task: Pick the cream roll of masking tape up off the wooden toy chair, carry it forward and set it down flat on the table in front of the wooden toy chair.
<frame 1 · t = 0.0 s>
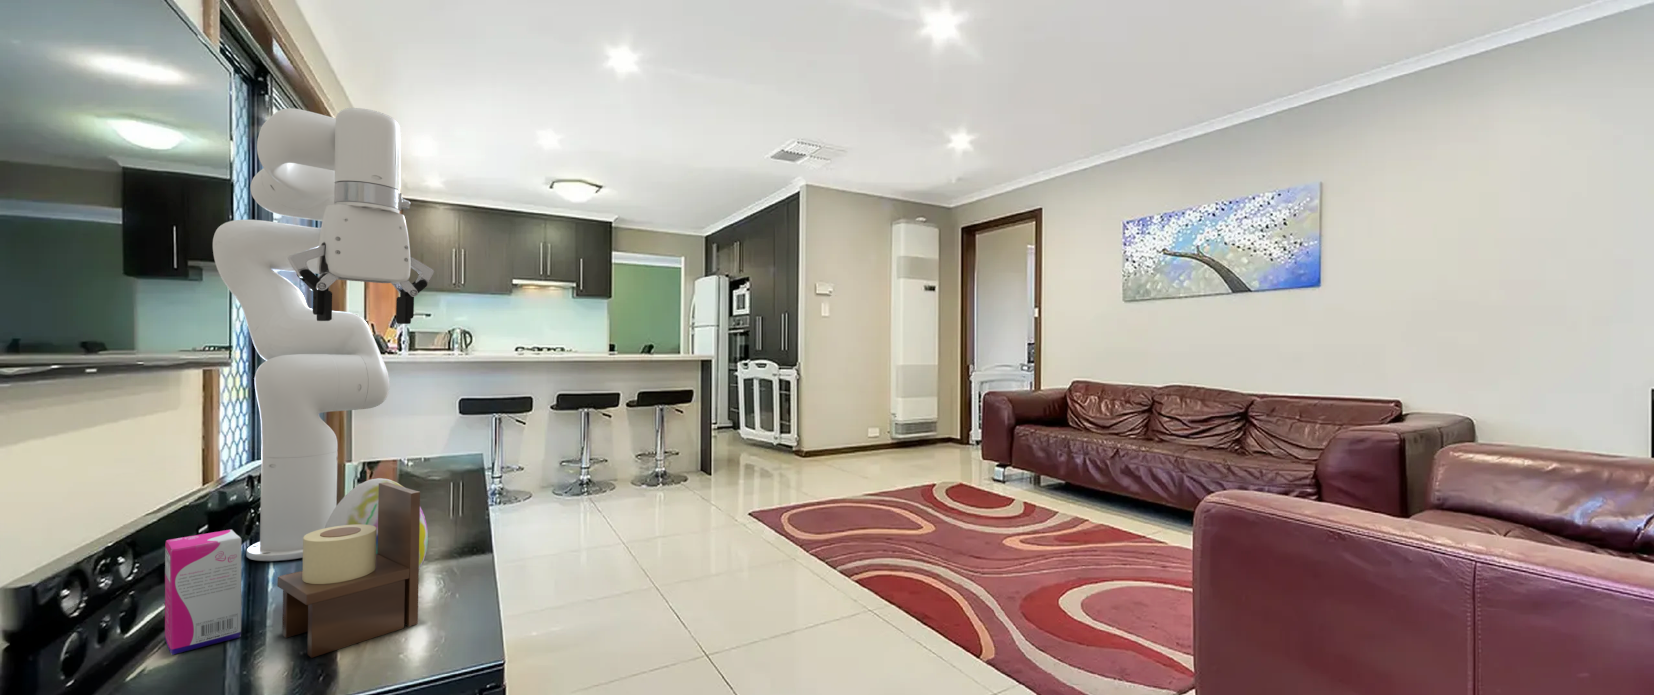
hand: (365, 322, 90), 37 cm above the tv stand, tool pointing down, fingers open, 9 cm apart
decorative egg: (375, 588, 88), on the tv stand
wooden toy chair: (344, 631, 75), on the tv stand
supplement box: (202, 640, 72), on the tv stand
tape roll: (340, 573, 74), point 7 cm above the tv stand, touching wooden toy chair
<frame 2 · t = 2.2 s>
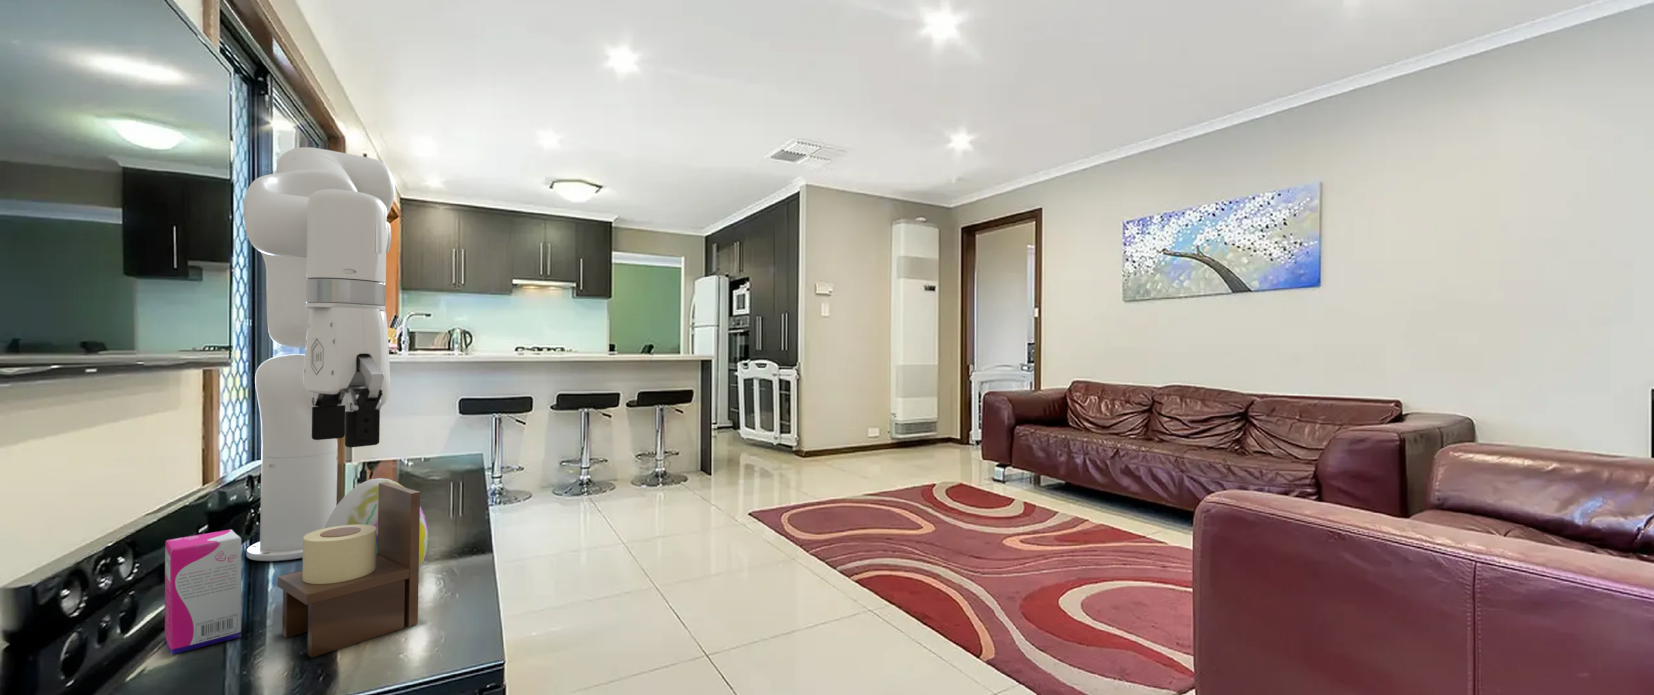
hand: (344, 442, 75), 22 cm above the tv stand, tool pointing down, fingers open, 9 cm apart
nothing on the tv stand moved.
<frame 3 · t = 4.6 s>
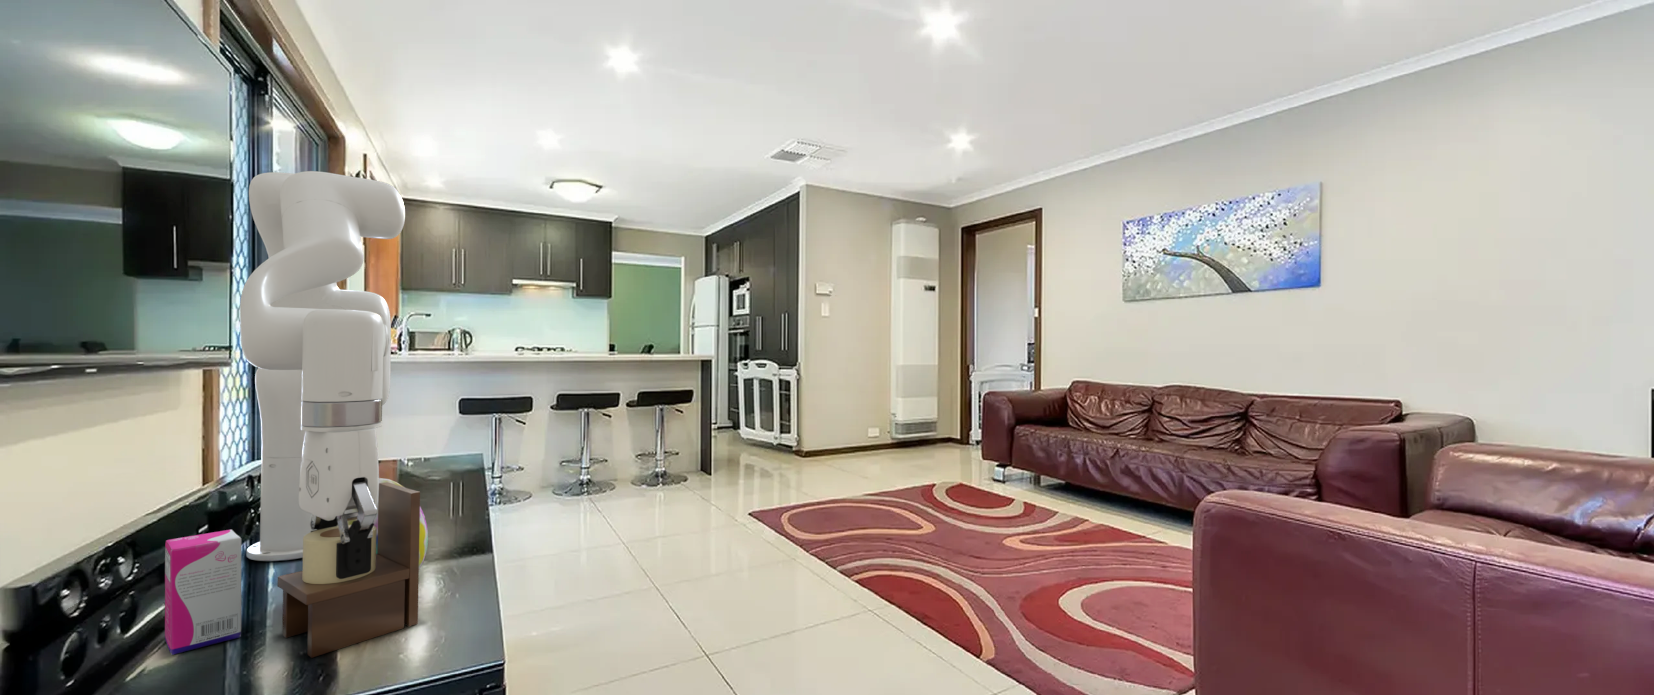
hand: (340, 567, 74), 8 cm above the tv stand, tool pointing down, fingers closed on tape roll, 6 cm apart
tape roll: (340, 573, 74), point 7 cm above the tv stand, touching gripper, wooden toy chair
everything else where it was.
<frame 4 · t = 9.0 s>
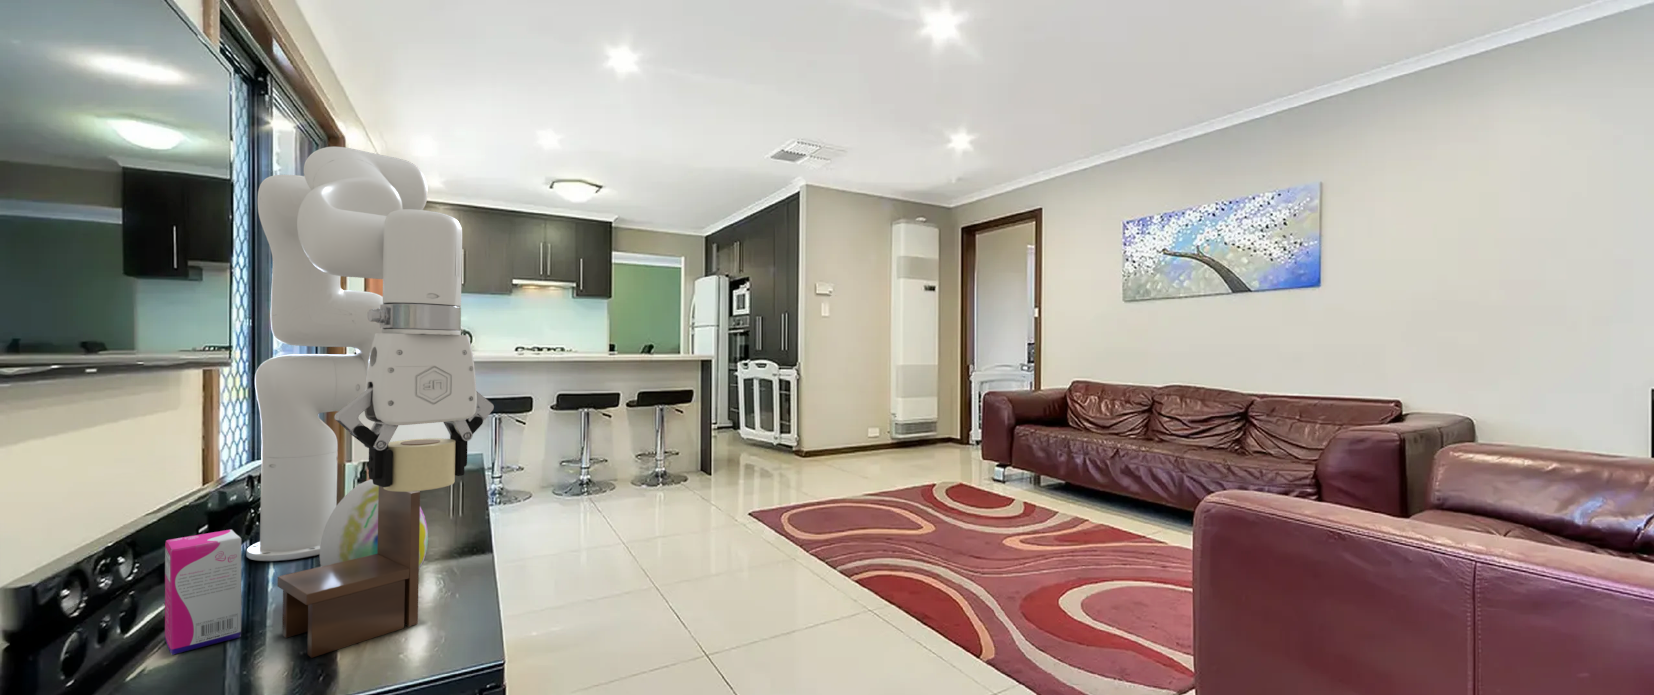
hand: (420, 478, 72), 19 cm above the tv stand, tool pointing down, fingers closed on tape roll, 6 cm apart
tape roll: (419, 484, 72), point 18 cm above the tv stand, touching gripper
everything else where it was.
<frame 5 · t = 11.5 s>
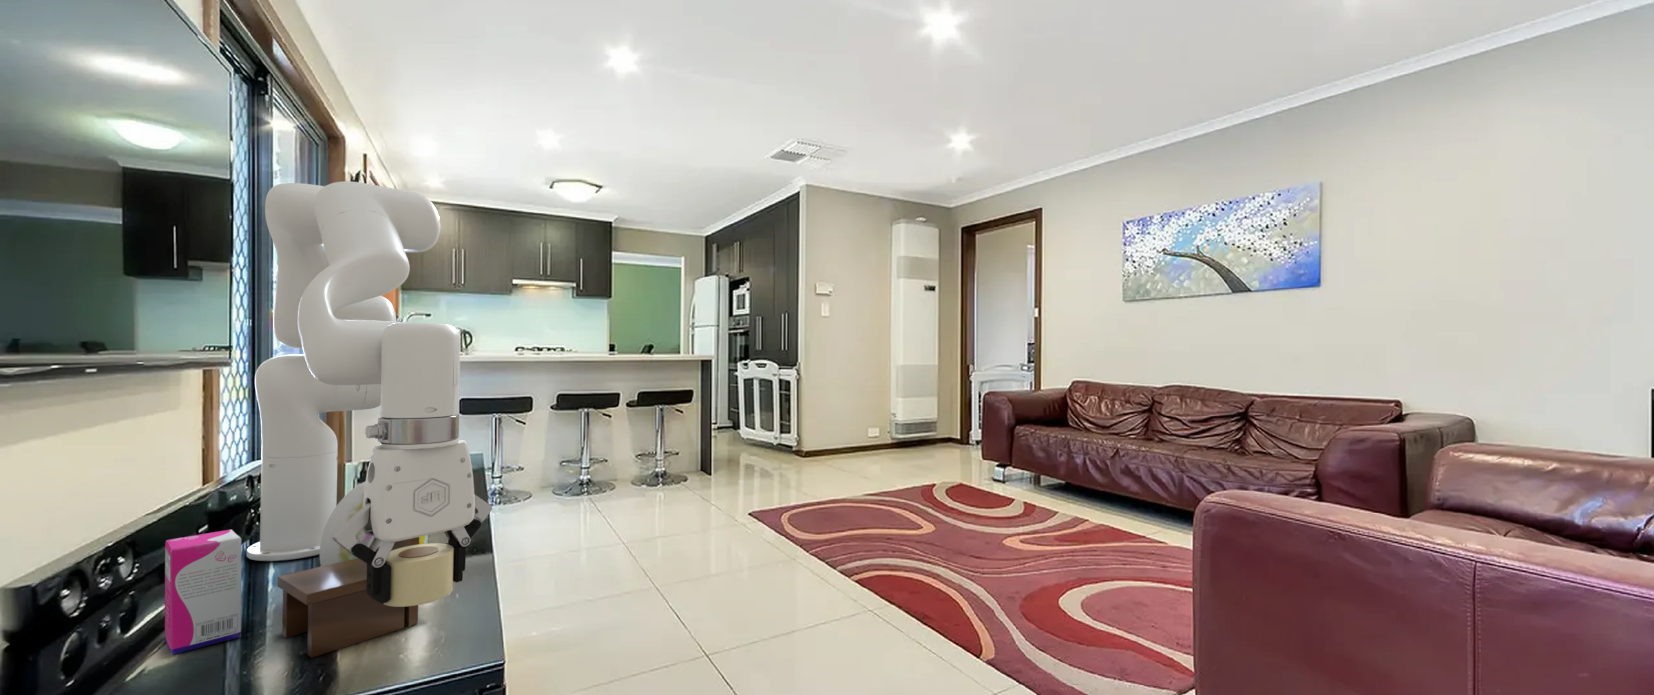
hand: (418, 588, 72), 6 cm above the tv stand, tool pointing down, fingers closed on tape roll, 6 cm apart
tape roll: (418, 594, 72), point 6 cm above the tv stand, touching gripper
everything else where it was.
when the fingers open (1 cm above the tv stand, at t = 13.5 s): tape roll stays where it is, on the tv stand.
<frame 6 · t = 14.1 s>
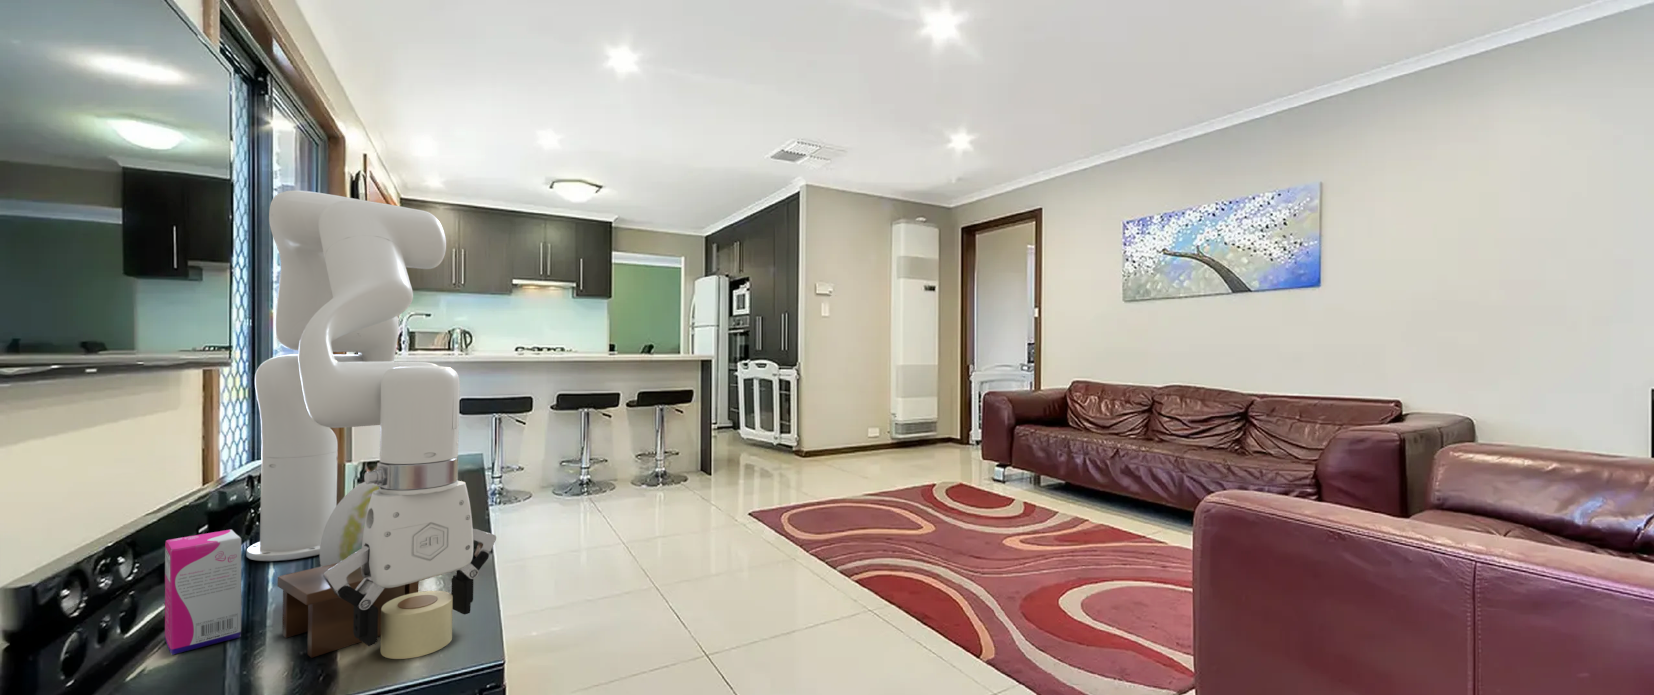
hand: (416, 625, 72), 2 cm above the tv stand, tool pointing down, fingers open, 9 cm apart
tape roll: (417, 644, 72), on the tv stand
everything else where it was.
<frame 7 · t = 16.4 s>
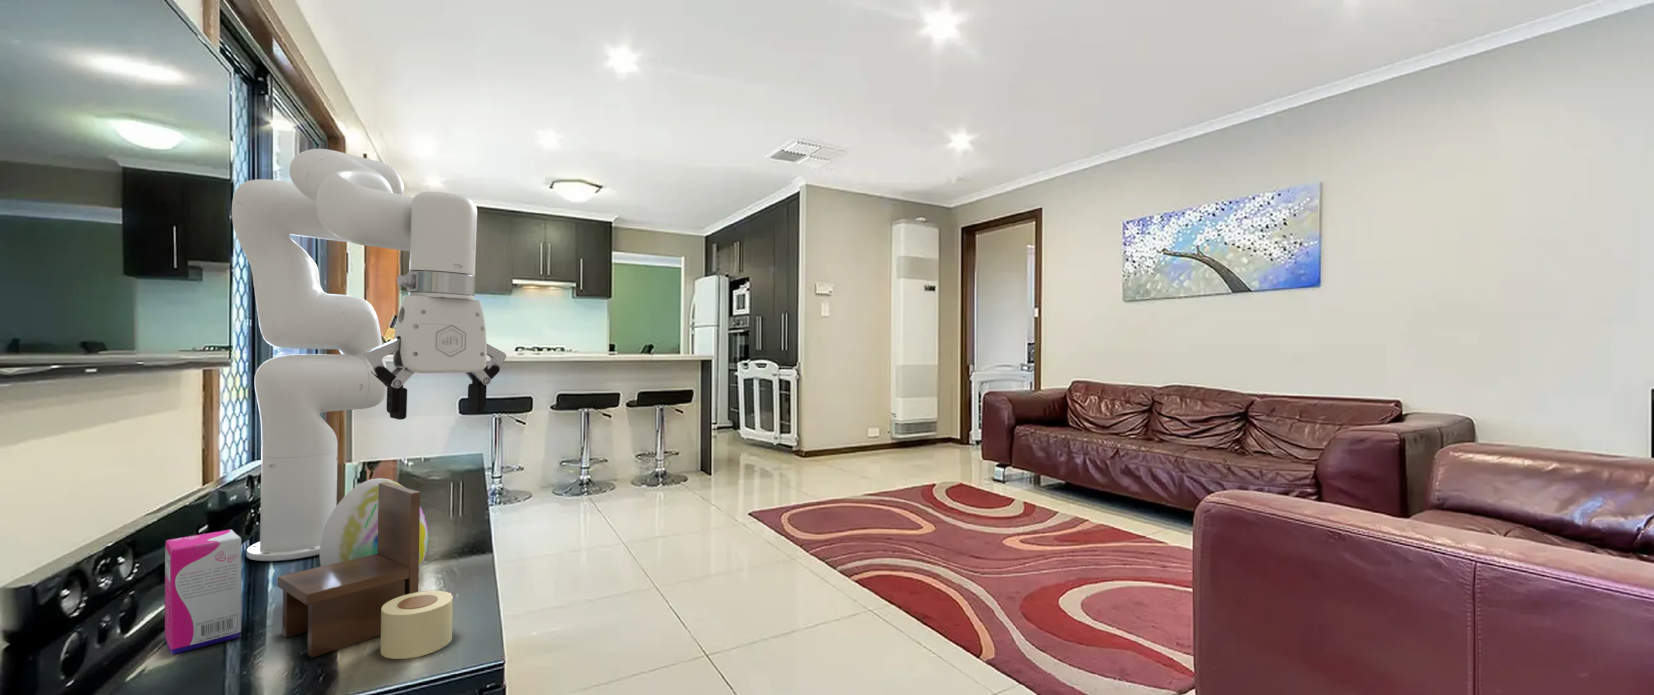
hand: (438, 415, 85), 24 cm above the tv stand, tool pointing down, fingers open, 9 cm apart
nothing on the tv stand moved.
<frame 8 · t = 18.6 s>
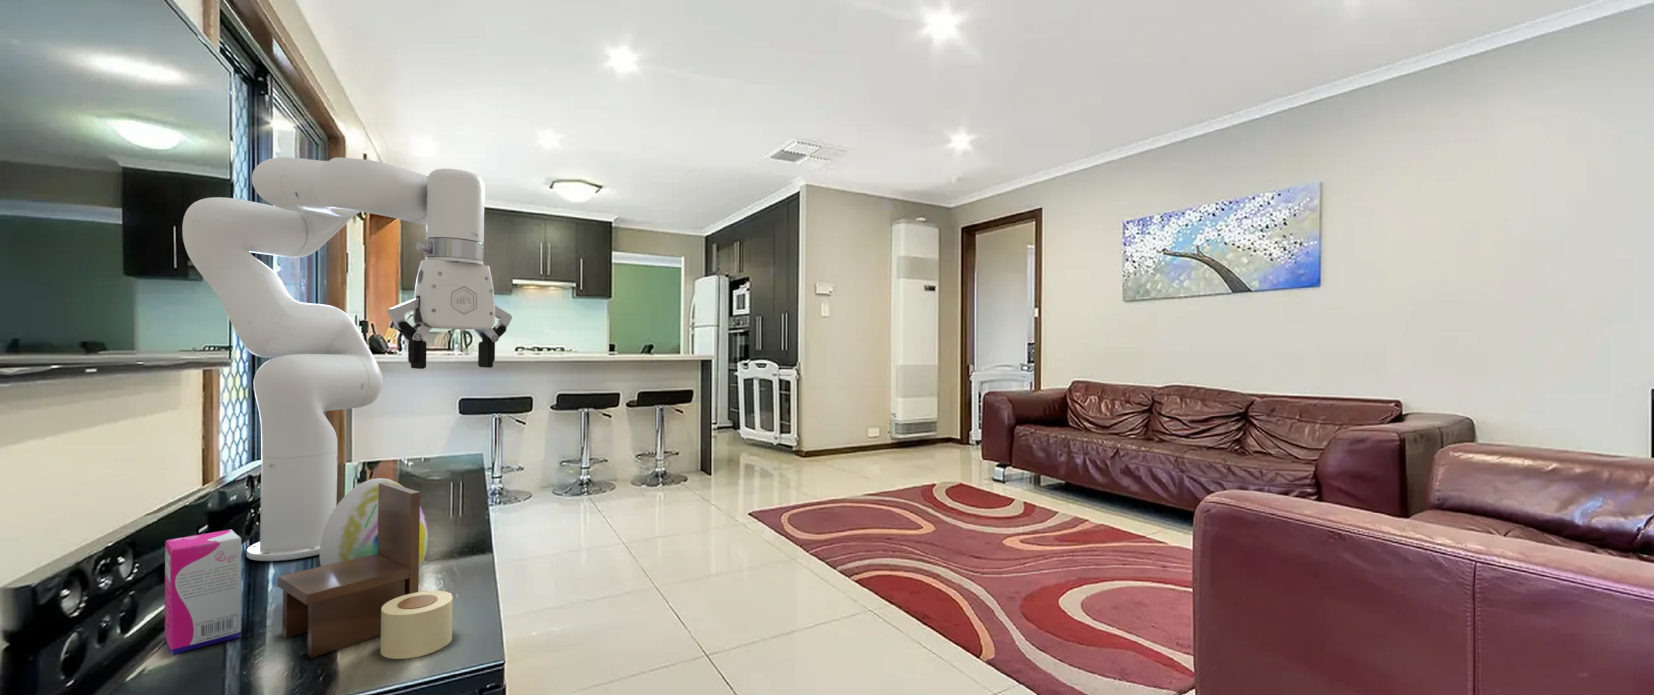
hand: (453, 367, 96), 30 cm above the tv stand, tool pointing down, fingers open, 9 cm apart
nothing on the tv stand moved.
at the end: tape roll inside the target area (0.1 cm from its centre), on the tv stand; tape roll tilted 0°; the gripper is holding nothing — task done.
